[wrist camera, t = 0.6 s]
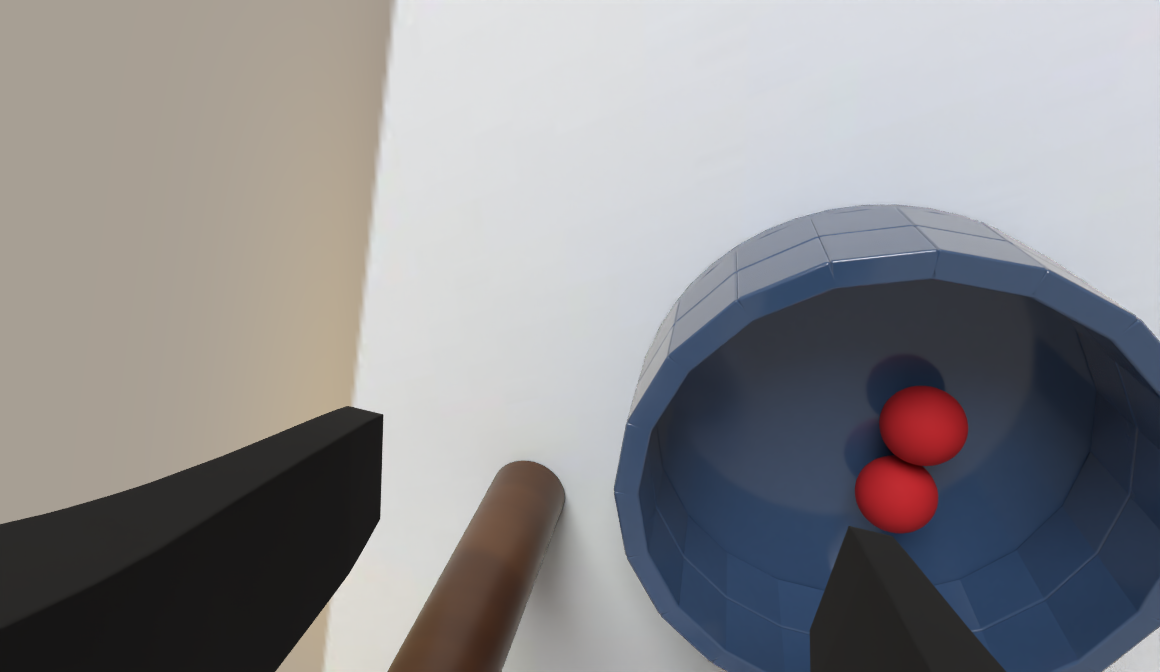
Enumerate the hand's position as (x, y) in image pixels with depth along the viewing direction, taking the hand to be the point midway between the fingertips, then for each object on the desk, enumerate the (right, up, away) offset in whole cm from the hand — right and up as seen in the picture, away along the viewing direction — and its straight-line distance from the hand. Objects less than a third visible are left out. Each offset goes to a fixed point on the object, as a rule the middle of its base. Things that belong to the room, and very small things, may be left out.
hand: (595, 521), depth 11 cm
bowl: (+7, 0, +9) cm, 12 cm away
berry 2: (+8, -1, +8) cm, 11 cm away
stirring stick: (-2, -2, +12) cm, 12 cm away
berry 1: (+8, +1, +7) cm, 11 cm away
